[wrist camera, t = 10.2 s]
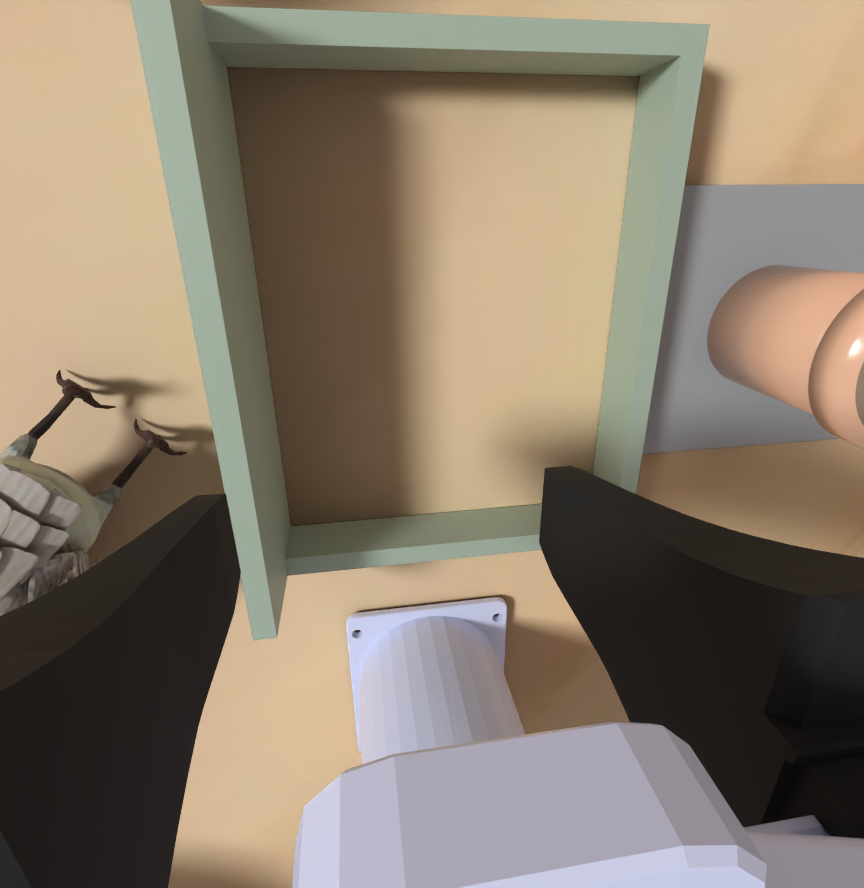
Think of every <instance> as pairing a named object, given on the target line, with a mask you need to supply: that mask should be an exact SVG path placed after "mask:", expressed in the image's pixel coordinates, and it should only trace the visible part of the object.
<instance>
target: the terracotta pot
mask: <svg viewBox="0 0 864 888" xmlns="http://www.w3.org/2000/svg"><path fill="white" fill-rule="evenodd" d="M707 348H708V354H709V357H710V360H711V362H712V364H713V366H714V367H715V369H716V370H717V371H718V372H719V373H720V374H721V375H722V376H723V377H725V378H726V379H728V380H730V381H733V382H735V383H737V384H740V385H742V386H745V387H747V388H750V389H752V390H755V391H757V392H759V393H762V394H764V395H767V396H769V397H772V398H774V399H776V400H779V401H781V402H784V403H786V404H789V405H791V406H794V407H796V408H798V409H801V410H803V411H806V412H808V413H811V414H813V415H814V417H815V418H816V420H817V422H818V423H819V424H820V425H821V427H822V428H823V429H824V430H826V431H827V432H828V433H829V434H831V435H833V436H835V437H837V438H839V439H841V440H844V441H846V442H848V443H850V444H853V445H855V446H857V447H860V448H862V449H864V273H859V272H848V271H838V270H827V269H817V268H807V267H796V266H786V265H771V266H766V267H762V268H759V269H757V270H754V271H752V272H750V273H749V274H747V275H745V276H744V277H742V278H741V279H739V280H738V281H737V282H736V283H735V284H734V285H733V286H732V287H731V288H730V289H729V290H728V291H727V292H726V293H725V295H724V296H723V297H722V298H721V300H720V302H719V303H718V305H717V307H716V309H715V311H714V313H713V315H712V318H711V321H710V324H709V328H708V335H707Z"/></svg>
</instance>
